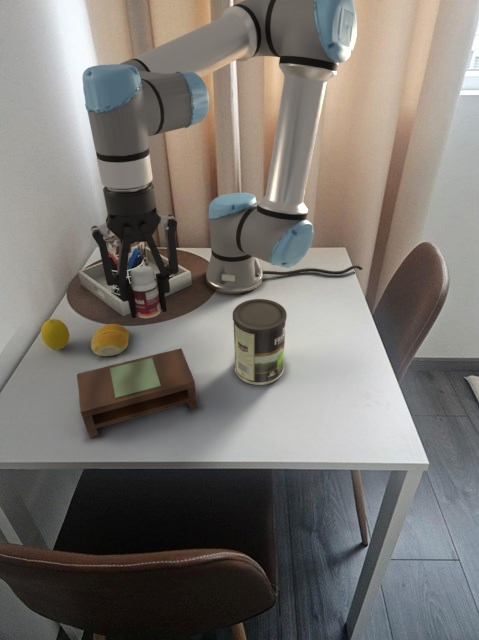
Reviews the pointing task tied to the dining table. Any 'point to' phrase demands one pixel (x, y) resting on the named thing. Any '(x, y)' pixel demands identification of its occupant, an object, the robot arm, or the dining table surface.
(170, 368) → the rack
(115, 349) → the bread roll
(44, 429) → the dining table surface
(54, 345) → the lemon
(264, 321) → the coffee can
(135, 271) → the pill bottle
